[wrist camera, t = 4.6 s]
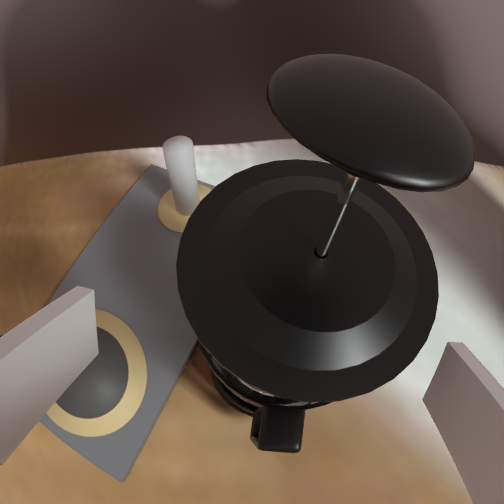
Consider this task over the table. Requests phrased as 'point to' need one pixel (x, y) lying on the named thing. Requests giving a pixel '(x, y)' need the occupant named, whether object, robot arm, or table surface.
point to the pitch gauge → (132, 317)
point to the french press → (322, 245)
